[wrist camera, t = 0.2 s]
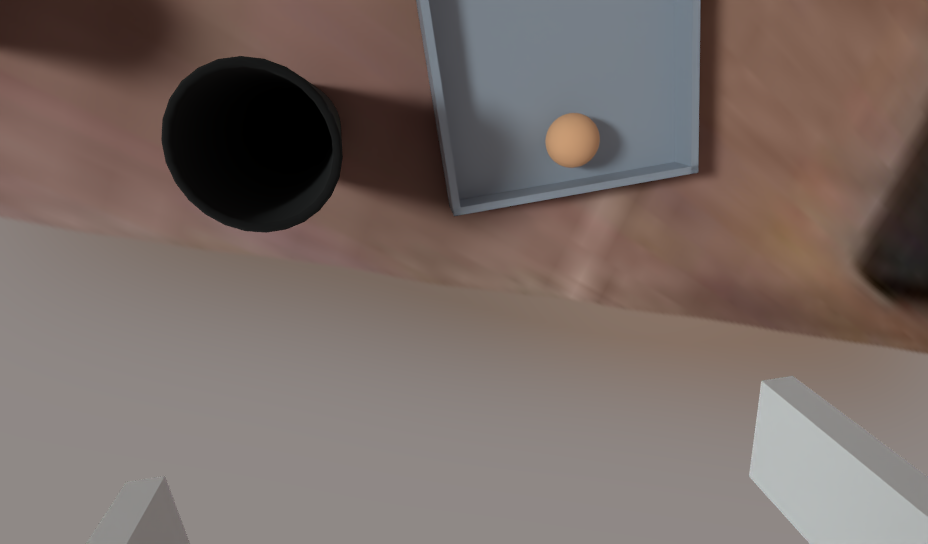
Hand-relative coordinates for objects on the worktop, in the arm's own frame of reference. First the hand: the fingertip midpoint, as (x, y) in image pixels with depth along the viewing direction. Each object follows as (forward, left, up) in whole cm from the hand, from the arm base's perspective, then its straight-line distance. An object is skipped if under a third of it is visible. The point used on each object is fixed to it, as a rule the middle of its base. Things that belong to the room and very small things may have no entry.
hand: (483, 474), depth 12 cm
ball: (-3, +11, -27) cm, 29 cm away
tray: (-9, +11, -28) cm, 31 cm away
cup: (-6, -7, -28) cm, 29 cm away
